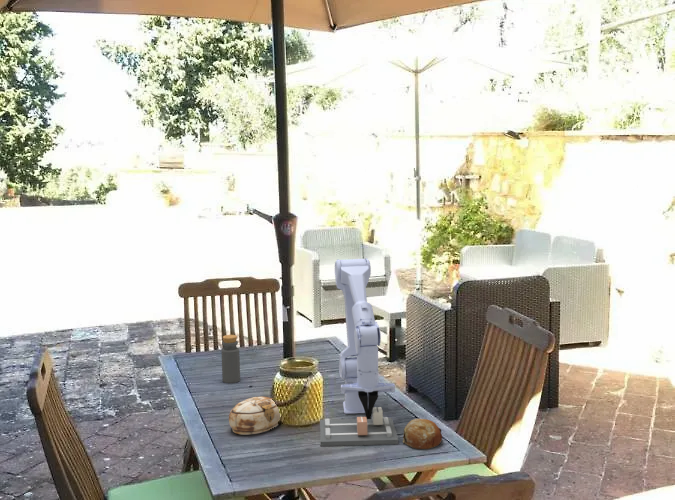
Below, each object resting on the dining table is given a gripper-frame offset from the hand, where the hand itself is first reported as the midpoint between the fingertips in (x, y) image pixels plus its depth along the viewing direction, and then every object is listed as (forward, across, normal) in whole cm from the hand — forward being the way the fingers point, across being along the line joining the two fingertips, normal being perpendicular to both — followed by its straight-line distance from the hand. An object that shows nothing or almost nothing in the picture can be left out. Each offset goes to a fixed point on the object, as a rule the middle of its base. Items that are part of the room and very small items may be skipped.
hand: (368, 417), depth 209 cm
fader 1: (+1, -2, -7) cm, 7 cm away
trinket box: (+3, -31, +4) cm, 31 cm away
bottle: (+3, -42, +46) cm, 63 cm away
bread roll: (+3, +13, -10) cm, 17 cm away
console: (+3, -3, -4) cm, 6 cm away
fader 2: (+1, +2, 0) cm, 3 cm away
